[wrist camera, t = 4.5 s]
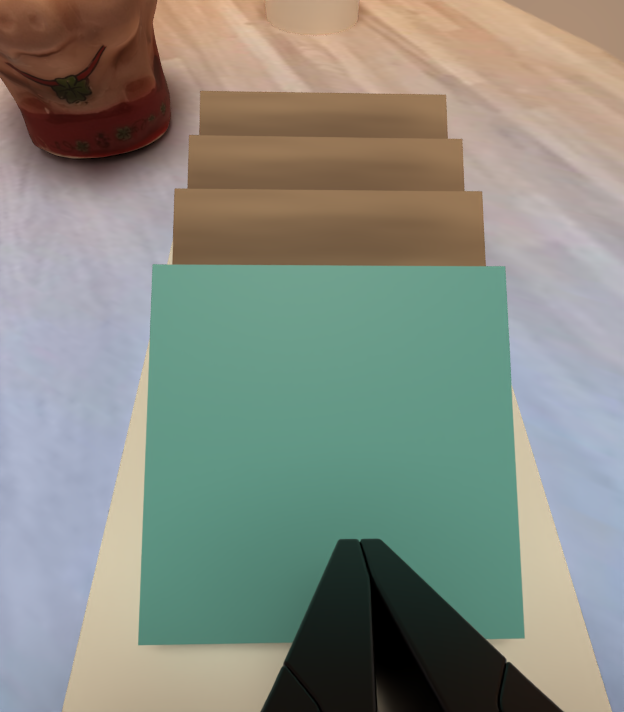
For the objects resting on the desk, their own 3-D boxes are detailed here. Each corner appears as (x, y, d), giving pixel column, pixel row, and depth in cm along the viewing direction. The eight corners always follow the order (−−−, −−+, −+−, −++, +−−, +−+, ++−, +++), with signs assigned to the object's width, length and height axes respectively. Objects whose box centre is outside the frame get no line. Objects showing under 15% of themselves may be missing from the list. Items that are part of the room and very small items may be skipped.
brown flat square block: (473, 412, 16) (462, 139, 17) (180, 413, 16) (189, 135, 17) (458, 411, 18) (448, 161, 19) (191, 412, 17) (198, 157, 19)
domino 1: (455, 335, 18) (445, 94, 19) (194, 336, 18) (200, 91, 19) (443, 341, 20) (434, 118, 21) (202, 341, 19) (208, 115, 20)
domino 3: (525, 638, 12) (504, 266, 13) (138, 645, 12) (153, 264, 13) (499, 611, 14) (483, 280, 15) (157, 616, 14) (168, 279, 15)
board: (649, 888, 11) (671, 905, 10) (29, 908, 11) (11, 927, 10) (461, 247, 24) (466, 236, 24) (177, 245, 24) (174, 234, 23)
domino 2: (497, 506, 14) (481, 191, 15) (164, 509, 14) (174, 188, 15) (477, 495, 16) (464, 211, 17) (178, 498, 15) (186, 208, 17)
